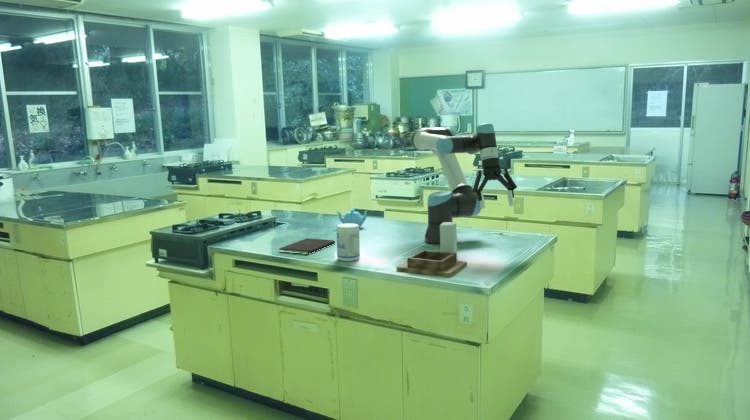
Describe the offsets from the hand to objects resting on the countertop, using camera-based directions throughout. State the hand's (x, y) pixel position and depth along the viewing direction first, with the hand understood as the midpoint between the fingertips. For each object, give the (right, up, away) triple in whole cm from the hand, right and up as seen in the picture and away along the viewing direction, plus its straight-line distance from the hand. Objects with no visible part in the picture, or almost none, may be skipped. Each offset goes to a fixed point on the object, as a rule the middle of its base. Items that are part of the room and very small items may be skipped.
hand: (497, 207), depth 232 cm
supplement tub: (-64, -22, -3) cm, 68 cm away
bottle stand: (-30, -24, -21) cm, 44 cm away
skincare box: (-22, -22, -6) cm, 31 cm away
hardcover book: (-84, -20, +20) cm, 89 cm away
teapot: (-65, -11, +65) cm, 92 cm away
